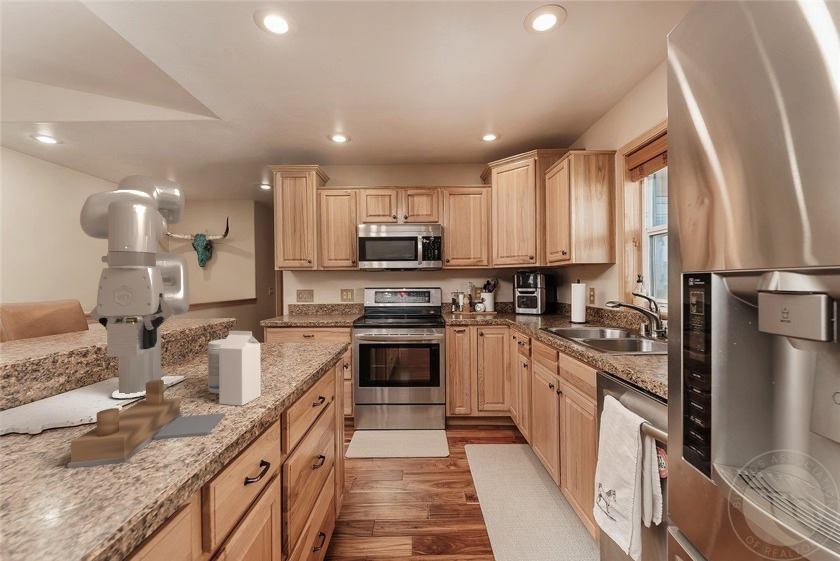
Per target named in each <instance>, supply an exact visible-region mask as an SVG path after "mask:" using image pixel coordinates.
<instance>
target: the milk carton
mask: <svg viewBox="0 0 840 561" xmlns="http://www.w3.org/2000/svg"><path fill="white" fill-rule="evenodd" d="M224 339H225V340H224V342H223V343H222V344H221V346H220V347H219V394H218V395H219V396H218V397H219V398H218V399H219V404H220V405H228V406H229V405H231V406H244V405H246V404H249V403H251V402H252V401H254V400H256V399H258V398H260V397H261V396H262V394H261V393H262V392H261V391H262V390H261V388H262V386H261V384H262V381H261V380H262V378H261V375H262V374H261V343H260V342H259V341H258V340H257V339H256V338H255V337H254V336H253V332H252V331H249V330H229V331H228V335H227V337H226V338H224Z"/></svg>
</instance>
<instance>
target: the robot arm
mask: <svg viewBox="0 0 840 561" xmlns="http://www.w3.org/2000/svg"><path fill="white" fill-rule="evenodd" d="M185 200H186V198H185V193H184V190H183V188H182V186H181V185H180V183H178V182H176V181H175V180H170V179H165V178H158V177H150V176H146V175H145V176H144V175H128V176H125V177H124V178H121V180H120V181H119V183H118V186H117V189H112V190H106V191H99V192H96V193H93V194H91V195H89V196H88V197H87V198H86V200H85V201H84V203H83V206H82V207H81V210H80V215H79V223H80V225H79V226H80V228H81V229H82V231H83V232H84V234H86V235H87V236H88V237H91V238H94V239H98V240H99V239H101V240H107V254H106V255H102V256H101V262H102V263H107V266H108V267H103V268H102V271H101V274H100V279H99V282H98V288H97V297H96V306H95V307H94V308H93V309H91V311H90V312H89V317H90V318H92V319H94V320H95V321H97V322H98V323H99V324H101V325H102V326H103V327H104V328H105V331H107V324H110V323H115V322H120V321H125V320H126V318H130V317H138V319H143V321H144V324H145V327H146V330H143V349H150V348H152V347H155V344H156V343H157V348H156V349H153V350H151V351H148V352H145V353H143V354H140V355H137V356H117V357H118V389H119V393H125V394H130V393H137V392H143V391H146V383H147V382H149V381H151V380H162V378H163V377H165V376H167V371H166V370H165V369H164V370H163V369H162V331H161V329H160V326H161V325H162V324H163V323H164V322H166V320H168V319H170V318H171V317H172V316H180V315H183V314H186V313H187V312H188V310H189V309H190V302H191V301H190V300H191V299H190V298H191V297H190V280H189V279H190V278H189V277H190V276H189V267H188V265H189V264H188V261H187V259H186V257H185V256H184V255H183V254H181V253H178V252H177V253H176V252H165V251H164V252H163V251H160V250H159V241H160V240H162V239H163V238H164V236H166V235H167V231H168V225H178V224H180V223H181V222H182V220H183V218H184V209H185V204H186V202H185ZM164 283H165V284H164ZM168 387H169V384H168V383H167V384H164V391H166V390H167V389H168Z"/></svg>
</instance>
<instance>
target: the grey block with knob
mask: <svg viewBox="0 0 840 561" xmlns="http://www.w3.org/2000/svg"><path fill="white" fill-rule="evenodd" d="M143 330H146V327H145V324H144V321H143V319H138V317H130V318H126V320H125V321H120V322H115V323H110V324H107V330H106V331H107V332H106V337H107V339H106V342H107V344H106V346H107V349H106V353H107V358H113V357H114V358H115V357H118V356H137V355H140V354H143V353H145V352H148V351H151V350H153V349H156V348H157V343H156V344H155V347H152V348H150V349H143Z"/></svg>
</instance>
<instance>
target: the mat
mask: <svg viewBox="0 0 840 561" xmlns="http://www.w3.org/2000/svg"><path fill="white" fill-rule="evenodd" d="M225 416H226V413H225V412H222V413H221V412H220V413H210V414H199V415H198V414H195V415H186V416H181V417H178V418H176V419H175V420H174V421H173V422H171V423H170V424H169V425H168V426H166V427H165V428H164V429H163V430H162V431H160V432H159V433H158V434H157V435H155V436H154V437H153V440H154V441H157V440H166V439H167V440H168V439H176V438H177V439H178V438H186V437H198V436H207V435H209V434H210V433H211V432H212V431H213V429H214V428H215V427H216V426H217V425H218V424H219V423H220V422H221V421H222V420H223V418H225ZM153 440H152V441H153Z"/></svg>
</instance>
